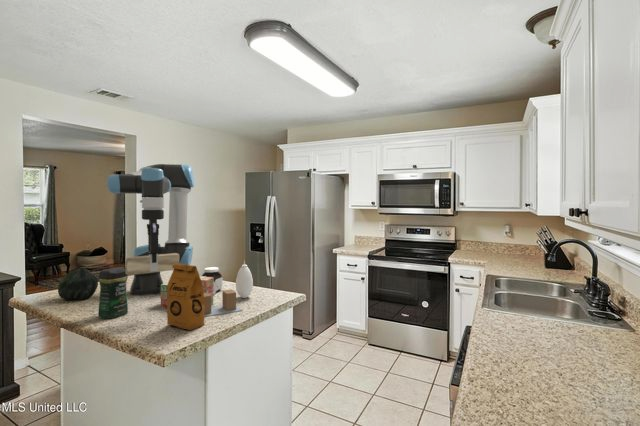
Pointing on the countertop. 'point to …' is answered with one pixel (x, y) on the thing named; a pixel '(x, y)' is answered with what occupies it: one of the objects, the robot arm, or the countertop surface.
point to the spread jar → (214, 277)
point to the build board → (221, 311)
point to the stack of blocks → (206, 283)
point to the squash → (77, 284)
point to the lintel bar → (143, 263)
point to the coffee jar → (113, 293)
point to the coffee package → (185, 298)
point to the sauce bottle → (244, 281)
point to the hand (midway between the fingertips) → (153, 269)
